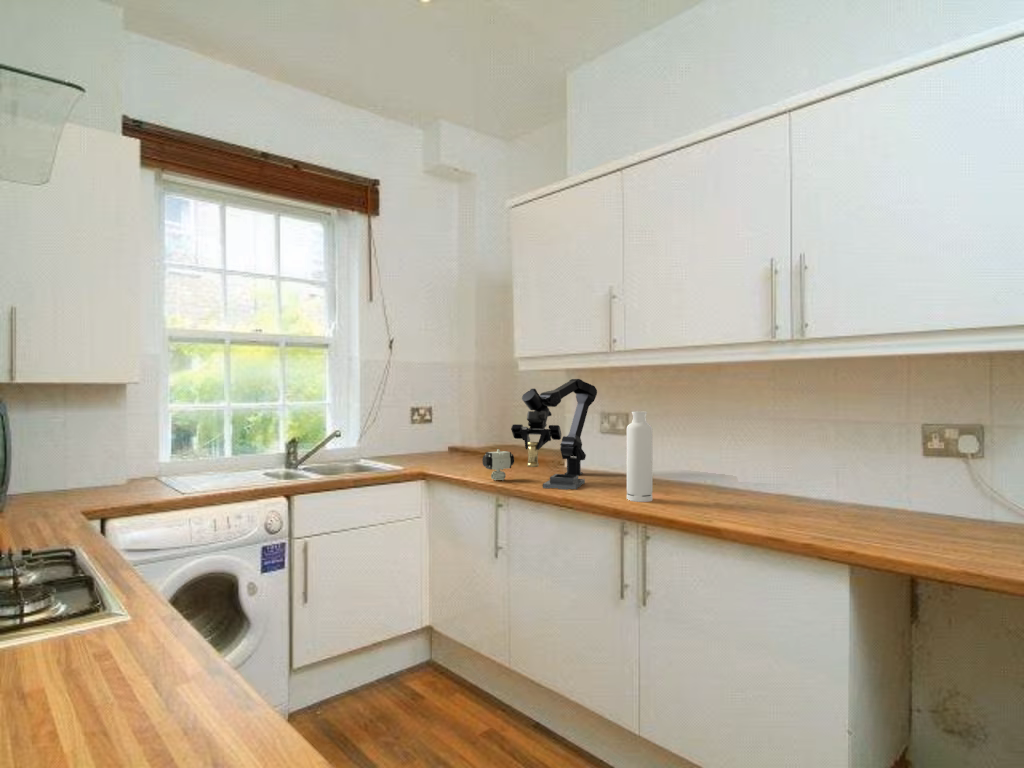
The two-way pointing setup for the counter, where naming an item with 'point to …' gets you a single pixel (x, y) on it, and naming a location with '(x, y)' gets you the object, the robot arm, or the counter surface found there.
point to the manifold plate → (564, 482)
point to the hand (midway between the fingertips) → (531, 448)
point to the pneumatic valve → (498, 463)
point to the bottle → (639, 459)
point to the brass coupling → (532, 454)
